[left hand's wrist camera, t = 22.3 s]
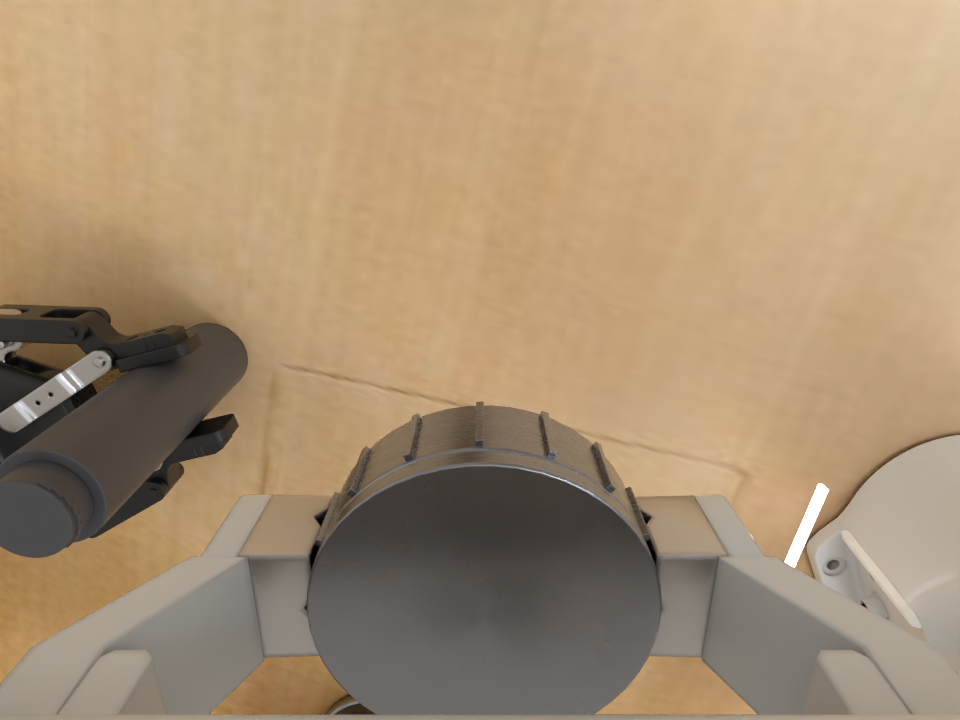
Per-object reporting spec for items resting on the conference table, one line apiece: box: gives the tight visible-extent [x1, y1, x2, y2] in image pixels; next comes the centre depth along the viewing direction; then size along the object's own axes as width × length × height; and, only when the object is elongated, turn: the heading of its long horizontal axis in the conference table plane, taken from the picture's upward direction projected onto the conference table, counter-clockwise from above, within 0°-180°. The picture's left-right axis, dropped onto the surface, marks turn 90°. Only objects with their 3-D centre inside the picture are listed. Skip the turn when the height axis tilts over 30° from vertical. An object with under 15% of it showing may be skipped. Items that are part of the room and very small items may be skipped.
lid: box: [307, 402, 662, 715], centre depth 9 cm, size 5×5×2 cm
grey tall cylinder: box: [0, 323, 248, 558], centre depth 31 cm, size 4×4×18 cm
